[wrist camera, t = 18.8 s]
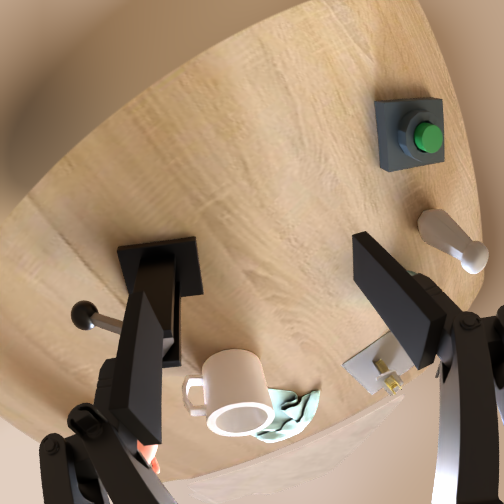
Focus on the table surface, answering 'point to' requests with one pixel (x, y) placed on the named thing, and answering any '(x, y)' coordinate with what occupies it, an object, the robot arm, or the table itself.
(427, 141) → the button
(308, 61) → the table surface
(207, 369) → the mug
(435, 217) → the salt shaker
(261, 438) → the cloth
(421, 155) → the control block
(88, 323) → the lever
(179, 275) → the switch bracket
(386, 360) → the platform
